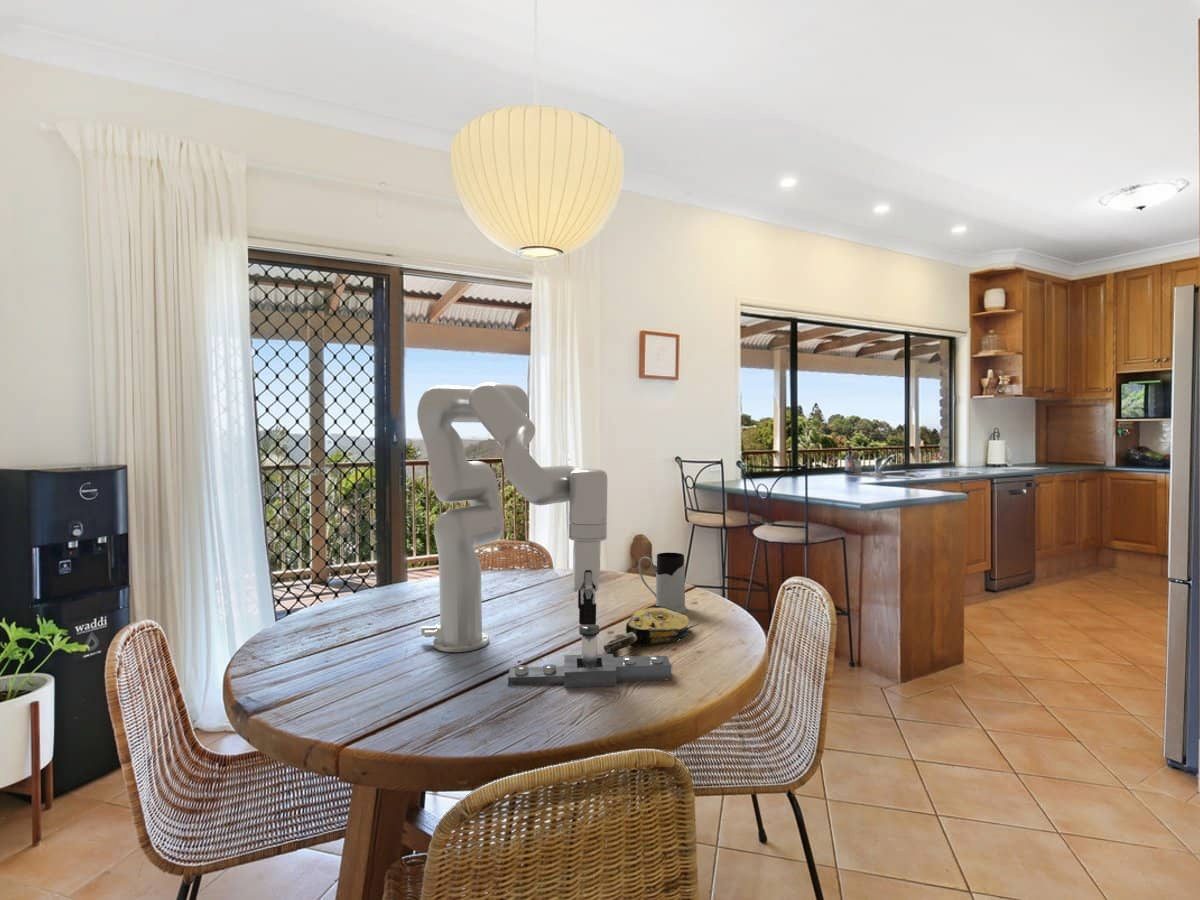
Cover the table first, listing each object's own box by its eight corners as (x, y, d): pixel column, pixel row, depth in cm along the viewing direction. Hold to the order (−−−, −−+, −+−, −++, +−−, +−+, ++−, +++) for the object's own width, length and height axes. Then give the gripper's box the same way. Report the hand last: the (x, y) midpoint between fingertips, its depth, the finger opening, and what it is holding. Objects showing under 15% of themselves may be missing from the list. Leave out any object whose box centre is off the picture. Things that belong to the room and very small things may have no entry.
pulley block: (584, 623, 137) (658, 595, 160) (581, 647, 138) (655, 616, 161) (634, 646, 128) (705, 613, 152) (631, 672, 129) (702, 635, 152)
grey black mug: (678, 615, 163) (678, 559, 163) (631, 607, 171) (631, 554, 170) (691, 607, 171) (691, 553, 170) (646, 600, 178) (645, 549, 178)
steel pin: (579, 681, 120) (579, 630, 120) (579, 673, 124) (578, 623, 124) (600, 681, 121) (599, 629, 120) (599, 673, 125) (598, 623, 124)
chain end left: (506, 689, 117) (506, 677, 117) (511, 671, 126) (510, 659, 126) (616, 686, 118) (616, 673, 118) (612, 668, 127) (612, 656, 127)
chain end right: (564, 687, 118) (564, 669, 118) (564, 669, 127) (564, 652, 127) (672, 684, 119) (672, 665, 119) (665, 666, 128) (665, 649, 128)
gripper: (568, 523, 130) (567, 603, 131) (569, 539, 113) (568, 631, 114) (603, 524, 131) (602, 603, 131) (609, 539, 113) (608, 630, 114)
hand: (586, 616), depth 122 cm, fingers open, 9 cm apart
